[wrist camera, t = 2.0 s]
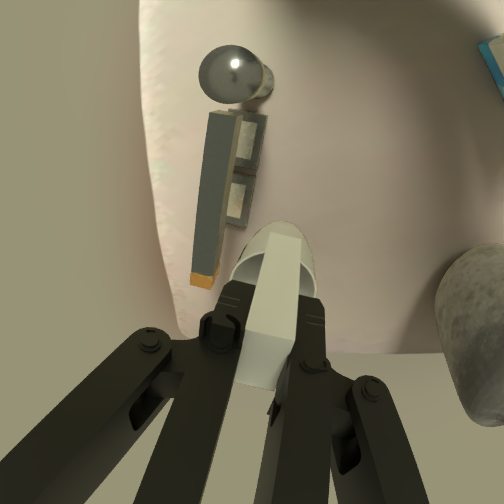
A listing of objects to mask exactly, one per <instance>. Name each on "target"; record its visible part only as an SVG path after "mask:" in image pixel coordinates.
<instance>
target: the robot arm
mask: <svg viewBox="0 0 504 504" xmlns="http://www.w3.org/2000/svg"><path fill="white" fill-rule="evenodd" d="M301 240H302V239H298V238H294V237H290V236H286V235H282V234H277V233H273V232H270V235H269V239H268V243H267V247H266V251H265V254H264V258H263V262H262V266H261V270H260V273H259V277H258V281H257V285H253V284H249V283H245V282H241V281H237V280H233V279H232V280H231V281H230V282H228V283H227V284H226V285H224V287H223V290H222V292H221V295H220V297H219V299H218V302H217V304H216V307H215V309H214V311H210V312H208V313H206V314H204V316H203V317H202V318H201V319H200V329H199V336H198V337H196V338H194V339H190V340H171V339H170V337H169V335H168V334H167V333H165V332H164V331H163V330H160V329H157V328H152V327H151V328H150V327H146V328H142V329H139V330H137V331H136V332H134V333H133V334H132V335H130V336H129V338H127V339H126V340H125V341H124V342H123V343H122V344H121V345H120V346H119V347H118V348H117V349H116V350H114V352H112V353H111V354H110V355H109V356H108V357H107V358H106V359H105V360H104V361H103V362H102V363H101V364H100V365H99V366H98V367H97V368H95V369H94V370H93V371H92V372H91V373H90V374H89V375H88V376H87V377H86V378H85V379H84V380H83V381H82V382H81V383H80V384H79V385H78V386H76V387H75V388H74V389H73V390H72V391H71V392H70V393H69V394H68V395H67V396H66V397H65V398H64V399H63V400H62V401H61V402H60V403H59V404H58V405H57V406H56V407H55V408H54V409H53V410H52V411H51V412H50V413H49V414H48V415H47V416H45V418H44V419H42V420H41V422H40V423H38V424H37V425H36V427H34V428H33V429H32V430H31V431H30V432H29V433H28V434H27V435H26V436H25V437H24V438H23V439H22V440H21V441H20V442H19V443H18V444H17V445H16V446H15V447H14V448H13V449H12V450H11V451H10V452H9V453H8V454H7V455H6V456H5V457H4V458H3V459H2V460H1V462H0V504H84V503H85V502H86V500H88V498H89V497H90V496H91V495H92V494H93V492H94V491H95V490H96V489H97V488H98V487H99V485H100V484H101V483H102V482H103V481H104V479H105V478H106V477H107V476H108V475H109V473H110V472H111V471H112V470H113V468H114V467H115V466H116V465H117V464H118V463H119V461H120V460H121V459H122V458H123V457H124V455H125V454H126V453H127V452H128V450H129V449H130V448H131V447H132V445H133V444H134V443H135V442H136V441H137V439H138V438H139V437H140V436H141V434H142V433H143V432H144V431H145V430H146V428H147V427H148V426H149V424H150V423H151V422H152V421H153V419H154V418H155V417H156V416H157V415H158V413H159V412H160V411H161V410H162V408H163V407H164V406H165V404H166V403H167V402H168V401H169V400H170V398H174V400H173V403H172V406H171V408H170V411H169V413H168V415H167V418H166V420H165V423H164V425H163V428H162V430H161V433H160V435H159V438H158V441H157V443H156V446H155V448H154V451H153V453H152V456H151V458H150V461H149V463H148V466H147V469H146V471H145V474H144V476H143V479H142V481H141V484H140V487H139V489H138V492H137V494H136V497H135V500H134V502H133V504H201V500H202V496H203V493H204V489H205V486H206V482H207V479H208V475H209V471H210V468H211V464H212V460H213V457H214V453H215V450H216V446H217V442H218V438H219V435H220V431H221V427H222V424H223V420H224V416H225V412H226V409H227V405H228V401H229V397H230V393H231V389H232V385H233V382H236V383H240V384H244V385H248V386H253V387H257V388H262V389H266V390H271V391H274V390H275V388H276V393H275V397H274V399H273V401H272V404H271V406H270V408H269V410H268V412H267V414H268V415H270V417H269V422H268V428H267V435H266V440H265V446H264V451H263V457H262V462H261V468H260V473H259V479H258V484H257V489H256V494H255V499H254V504H328V497H329V496H328V495H329V482H330V468H331V472H332V477H333V482H334V486H335V491H336V495H337V500H338V504H429V501H428V498H427V494H426V491H425V488H424V485H423V482H422V479H421V476H420V473H419V470H418V467H417V464H416V461H415V458H414V455H413V452H412V450H411V447H410V444H409V441H408V439H407V436H406V433H405V430H404V428H403V425H402V423H401V420H400V417H399V415H398V412H397V410H396V407H395V404H394V402H393V399H392V397H391V394H390V392H389V390H388V388H387V386H386V385H385V383H383V382H382V381H381V380H380V379H378V378H376V377H373V376H367V375H365V376H361V377H358V378H357V379H356V380H355V381H354V380H351V379H349V378H347V377H345V376H343V375H341V374H339V373H337V372H336V371H335V370H334V369H332V368H331V365H330V362H329V360H328V359H327V358H326V345H325V310H324V307H323V305H322V303H321V301H320V300H319V299H317V298H312V297H308V296H304V295H299V279H300V261H301ZM276 385H277V386H276Z"/></svg>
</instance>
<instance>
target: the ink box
mask: <svg viewBox="0 0 504 504" xmlns="http://www.w3.org/2000/svg"><path fill="white" fill-rule="evenodd" d="M478 48H479V50H480V52H481V54H482V56H483V58H484V59H485V61H486V63H487V65H488V68H489V70H490V72H491V74H492V76H493V78H494V80H495V82H496V84H497V86H498V89H499V91H500V93H501V95H502V97H503V99H504V33H502V34H500V35H498V36H496V37H493V38H491V39H489V40H487V41H484V42H482V43H480V44H478Z"/></svg>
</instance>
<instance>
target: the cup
mask: <svg viewBox="0 0 504 504" xmlns="http://www.w3.org/2000/svg"><path fill="white" fill-rule="evenodd" d="M270 232H273V233H277V234H282V235H286V236H290V237H294V238H298V239H302V240H301V261H300V279H299V295H304V296H308V297H312V298H315V297H316V293H317V285H316V277H315V269H314V261H313V257H312V254H311V251H310V249H309V246H308V243H307V241H306V239H305V237H304V236H303V234H302V233H301V232H300V231H299V229H298V228H297V227H296V226H295V225H293V224H291V223H289V222H286V221H275V222H272V223H270V224H268V225H267V226H265V227H263V228H262V229H260V230H259V231H258V232H257V233H256V234H255V235H254V237H253V238H252V239H251V240H250V242H249V243H248V244H247V245H246V246H245V248H244V250H243V252H242V254H241V255H240V257H239V259H238V261H237V263H236V265H235V267H234V269H233V271H232V273H231V276H230V281H231V280H232V279H233V280H237V281H241V282H245V283H249V284H253V285H257V281H258V277H259V273H260V270H261V266H262V262H263V258H264V254H265V251H266V247H267V243H268V239H269V235H270ZM230 281H229V282H230Z"/></svg>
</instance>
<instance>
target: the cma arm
mask: <svg viewBox="0 0 504 504" xmlns="http://www.w3.org/2000/svg"><path fill="white" fill-rule="evenodd" d="M265 81H266V70H265V67H264V65H263V63H262V62H261V60H260V59H259V58H258V57H257V56H256V55H254V54H253V53H252V52H250V51H249V50H247V49H245V48H243V47H240V46H236V45H226V46H221V47H218V48H216V49H214V50H213V51H211V52H210V53H209V54H208V55H207V56H206V57H205V58H204V60H203V61H202V63H201V65H200V69H199V83H200V86H201V88H202V90H203V91H204V93H205V94H206V95H207V96H208V97H209V98H211V99H212V100H214V101H216V102H219V103H223V104H234V103H241V102H246V101H249V100H251V99H253V98H254V97H256V96H257V95H258V94H259V93H260V92H261V90H262V89H263V87H264V85H265ZM242 118H243V114H239V113H233V112H227V111H221V110H217V111H213V112H209V119H208V125H207V132H206V139H205V147H204V154H203V162H202V170H201V178H200V187H199V195H198V204H197V214H196V224H195V234H194V245H193V257H192V270H191V274H190V285H193V286H197V287H201V288H205V289H209V290H211V288H212V286H213V284H214V282H215V280H216V277H217V275H218V273H219V266H220V256H221V249H222V242H223V235H224V228H225V222H226V215H227V209H228V202H229V196H230V189H231V183H232V177H233V171H234V165H235V159H236V153H237V147H238V141H239V135H240V129H241V123H242Z"/></svg>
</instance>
